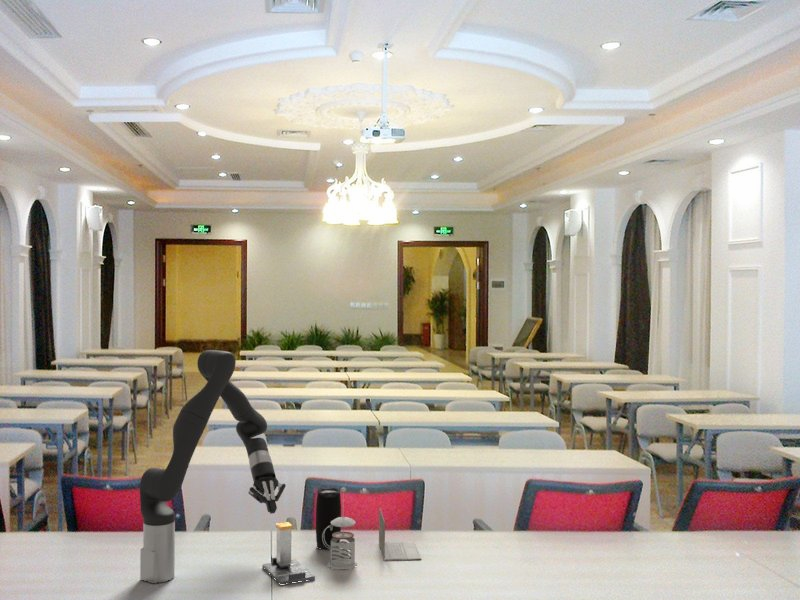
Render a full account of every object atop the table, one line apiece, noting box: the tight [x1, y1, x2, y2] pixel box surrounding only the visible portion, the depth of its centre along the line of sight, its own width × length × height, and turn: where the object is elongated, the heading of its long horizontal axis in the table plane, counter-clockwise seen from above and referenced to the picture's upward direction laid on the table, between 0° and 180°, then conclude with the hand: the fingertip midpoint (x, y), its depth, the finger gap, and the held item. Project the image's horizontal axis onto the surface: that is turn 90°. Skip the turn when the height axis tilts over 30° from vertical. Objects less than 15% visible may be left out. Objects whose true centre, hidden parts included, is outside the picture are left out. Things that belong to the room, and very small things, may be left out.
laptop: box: [378, 507, 422, 562], centre depth 281 cm, size 18×12×13 cm
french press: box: [322, 487, 358, 570], centre depth 267 cm, size 10×12×25 cm
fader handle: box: [275, 521, 293, 568], centre depth 262 cm, size 4×4×13 cm
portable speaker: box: [315, 487, 342, 550], centre depth 285 cm, size 9×9×20 cm
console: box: [262, 557, 316, 584], centre depth 259 cm, size 17×11×3 cm, turn 27°
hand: (273, 512), depth 272 cm, fingers closed
